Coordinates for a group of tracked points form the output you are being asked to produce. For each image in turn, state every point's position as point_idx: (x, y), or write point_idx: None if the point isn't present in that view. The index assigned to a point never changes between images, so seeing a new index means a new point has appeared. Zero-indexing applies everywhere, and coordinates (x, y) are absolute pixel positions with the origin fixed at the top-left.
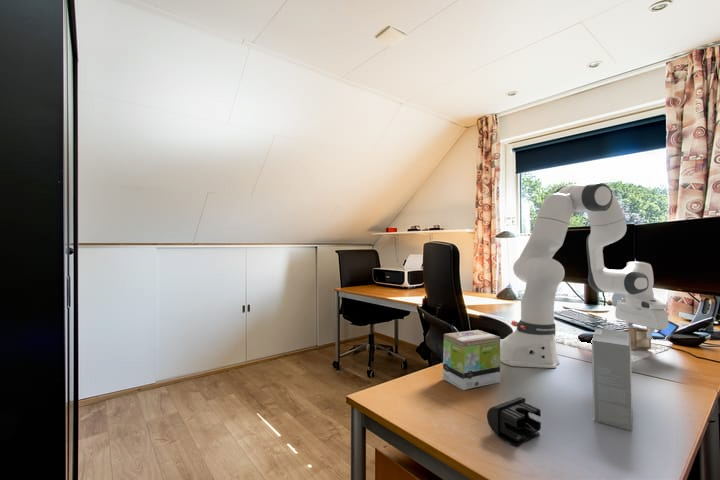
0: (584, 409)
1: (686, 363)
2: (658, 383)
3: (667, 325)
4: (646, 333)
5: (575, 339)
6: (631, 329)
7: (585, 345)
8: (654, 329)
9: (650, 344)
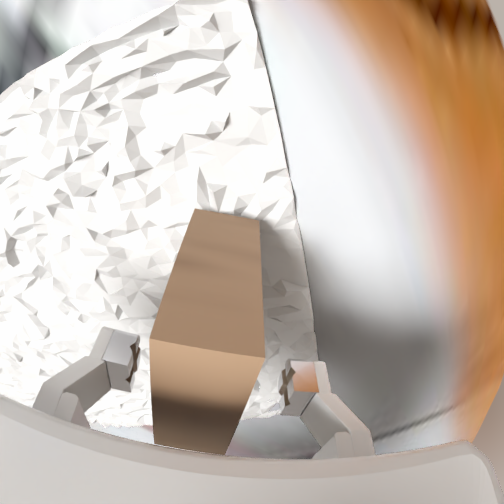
0: None
1: (458, 234)
2: (421, 437)
3: (487, 471)
4: (303, 417)
5: (26, 364)
6: (195, 446)
7: (123, 413)
8: (369, 438)
9: (259, 246)
